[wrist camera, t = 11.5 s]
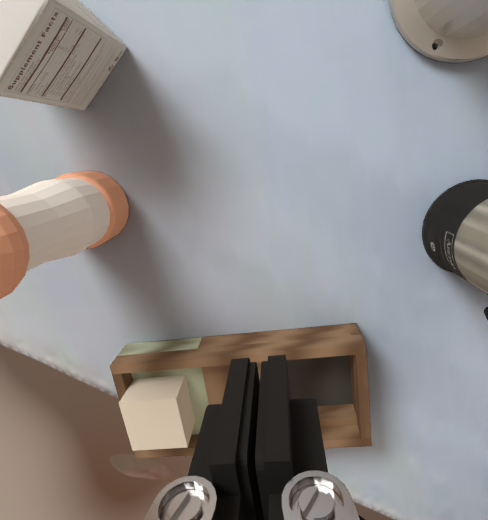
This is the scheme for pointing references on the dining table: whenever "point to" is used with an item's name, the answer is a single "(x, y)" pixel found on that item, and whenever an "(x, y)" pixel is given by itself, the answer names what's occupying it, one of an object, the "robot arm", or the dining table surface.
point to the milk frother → (460, 232)
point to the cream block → (158, 413)
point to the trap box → (258, 349)
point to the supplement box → (54, 52)
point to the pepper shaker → (57, 221)
